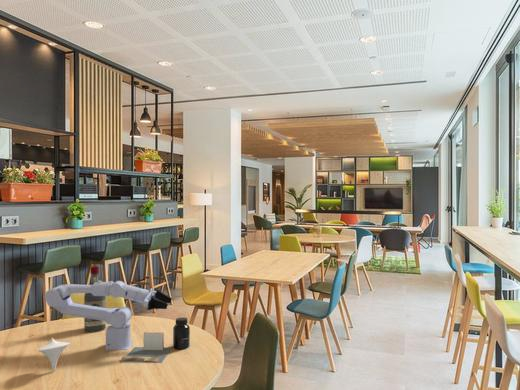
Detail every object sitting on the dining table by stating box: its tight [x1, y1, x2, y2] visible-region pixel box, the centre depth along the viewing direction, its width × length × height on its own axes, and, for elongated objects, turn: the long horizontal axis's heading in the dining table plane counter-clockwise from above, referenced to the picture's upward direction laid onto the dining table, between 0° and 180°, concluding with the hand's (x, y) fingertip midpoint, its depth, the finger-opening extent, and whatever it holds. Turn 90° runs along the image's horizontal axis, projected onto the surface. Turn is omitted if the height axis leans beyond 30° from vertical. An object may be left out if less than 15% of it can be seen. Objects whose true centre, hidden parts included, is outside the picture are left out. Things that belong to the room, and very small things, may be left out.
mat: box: [119, 346, 174, 364], centre depth 162 cm, size 16×16×1 cm
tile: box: [143, 331, 165, 350], centre depth 167 cm, size 8×2×7 cm, turn 87°
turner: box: [120, 355, 160, 362], centre depth 156 cm, size 14×4×1 cm, turn 87°
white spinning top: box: [36, 337, 71, 373], centre depth 147 cm, size 10×11×12 cm
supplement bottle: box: [172, 317, 191, 351], centre depth 170 cm, size 7×7×12 cm
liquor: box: [83, 265, 107, 333], centre depth 196 cm, size 9×9×30 cm
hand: (169, 303), depth 172 cm, fingers open, 7 cm apart
